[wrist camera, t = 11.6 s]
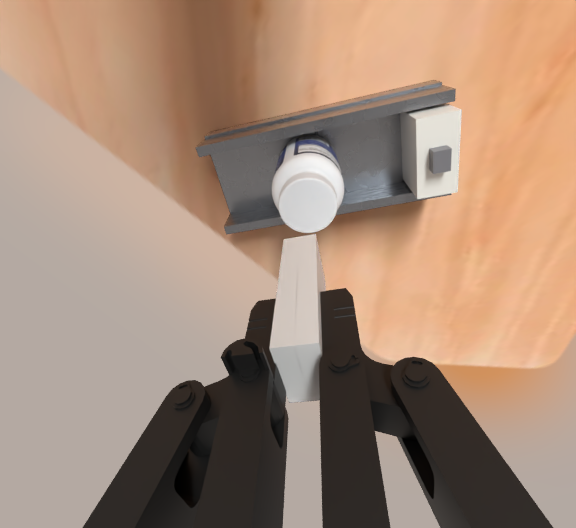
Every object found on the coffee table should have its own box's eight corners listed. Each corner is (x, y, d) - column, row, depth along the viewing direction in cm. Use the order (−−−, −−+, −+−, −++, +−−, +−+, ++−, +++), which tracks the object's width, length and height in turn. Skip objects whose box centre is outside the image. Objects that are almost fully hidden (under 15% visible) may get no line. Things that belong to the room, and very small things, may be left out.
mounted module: (399, 108, 28) (420, 122, 22) (438, 100, 27) (467, 112, 22) (402, 178, 31) (420, 204, 26) (437, 172, 30) (462, 196, 25)
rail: (210, 131, 31) (194, 145, 27) (434, 80, 28) (455, 85, 24) (237, 214, 36) (227, 236, 32) (433, 177, 32) (451, 196, 28)
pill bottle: (300, 203, 32) (297, 255, 24) (266, 157, 30) (250, 197, 22) (349, 171, 31) (363, 217, 22) (316, 120, 28) (319, 149, 20)
